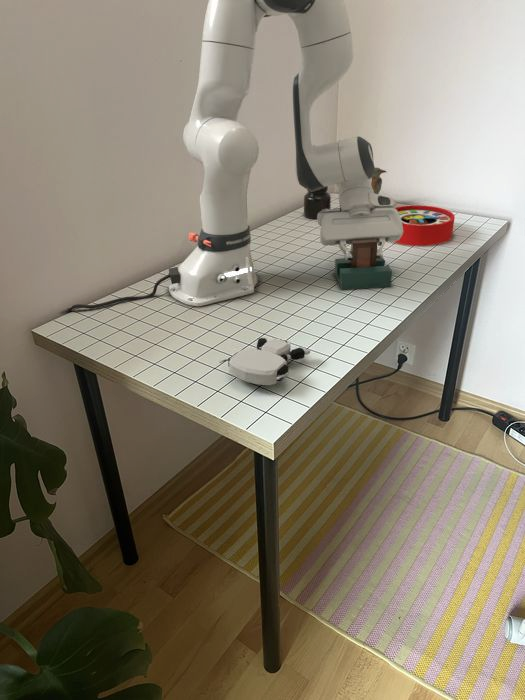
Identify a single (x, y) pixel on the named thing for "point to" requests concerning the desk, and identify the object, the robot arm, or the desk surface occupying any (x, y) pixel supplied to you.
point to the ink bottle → (316, 202)
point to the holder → (362, 275)
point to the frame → (363, 253)
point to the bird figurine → (377, 180)
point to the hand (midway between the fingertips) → (364, 258)
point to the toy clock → (425, 225)
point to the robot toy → (264, 361)
